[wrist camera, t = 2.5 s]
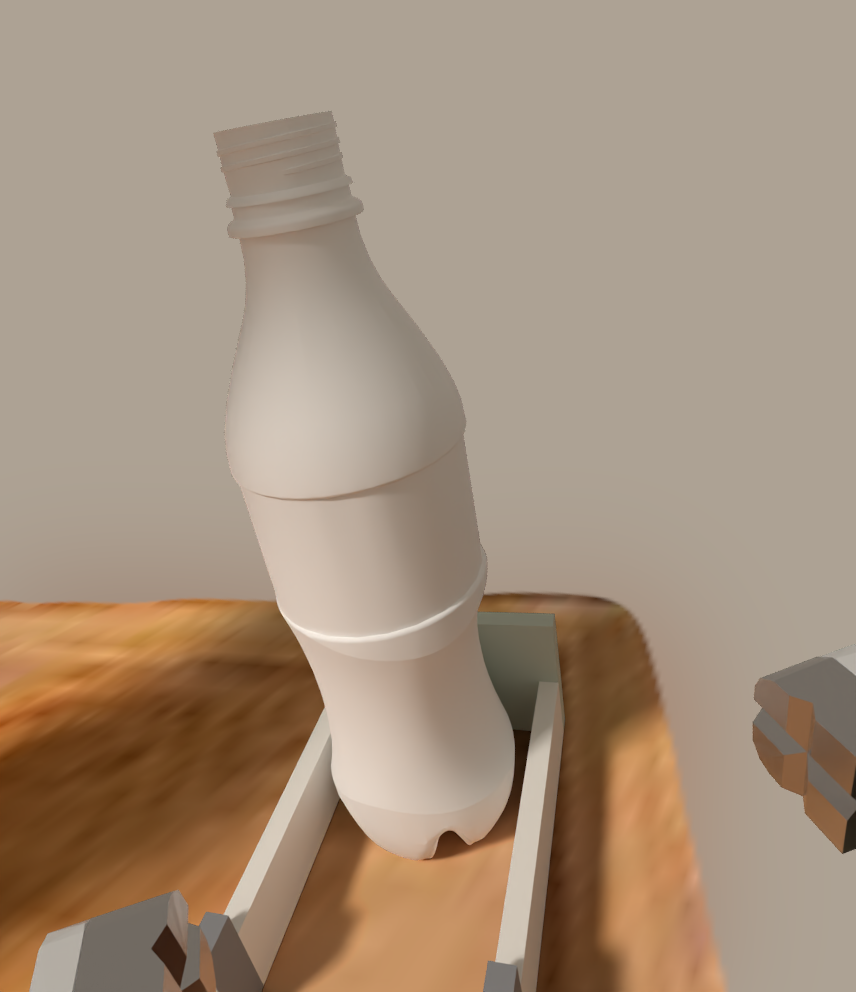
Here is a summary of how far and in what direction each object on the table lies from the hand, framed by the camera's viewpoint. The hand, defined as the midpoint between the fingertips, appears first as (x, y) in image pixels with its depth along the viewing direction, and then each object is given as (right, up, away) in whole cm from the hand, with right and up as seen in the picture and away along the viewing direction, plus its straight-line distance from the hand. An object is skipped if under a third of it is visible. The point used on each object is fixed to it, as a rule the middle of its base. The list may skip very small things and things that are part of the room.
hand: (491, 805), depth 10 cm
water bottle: (-1, -8, +20) cm, 22 cm away
